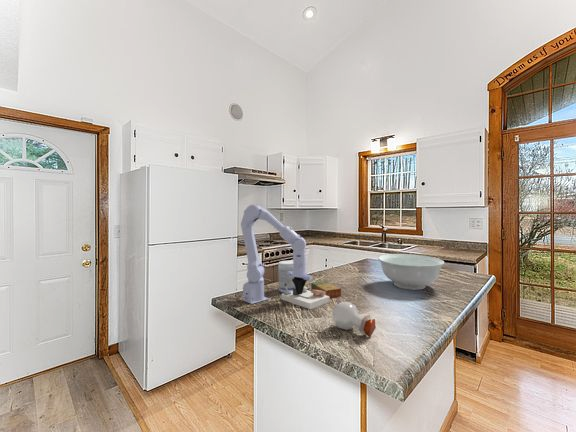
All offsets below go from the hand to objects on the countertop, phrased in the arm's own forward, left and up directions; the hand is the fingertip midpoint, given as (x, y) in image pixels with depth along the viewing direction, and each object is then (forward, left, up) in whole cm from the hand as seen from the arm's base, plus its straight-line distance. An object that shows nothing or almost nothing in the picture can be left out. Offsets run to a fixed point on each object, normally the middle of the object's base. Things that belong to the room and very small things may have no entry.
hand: (299, 294), depth 130 cm
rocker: (+6, -6, +1) cm, 9 cm away
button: (+6, +4, -1) cm, 7 cm away
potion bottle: (-8, -34, -4) cm, 35 cm away
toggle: (-2, +6, 0) cm, 6 cm away
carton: (+18, 0, -4) cm, 19 cm away
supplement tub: (+8, +16, -4) cm, 18 cm away
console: (+3, -1, -3) cm, 4 cm away
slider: (0, +2, -1) cm, 2 cm away
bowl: (+60, -24, -4) cm, 64 cm away
